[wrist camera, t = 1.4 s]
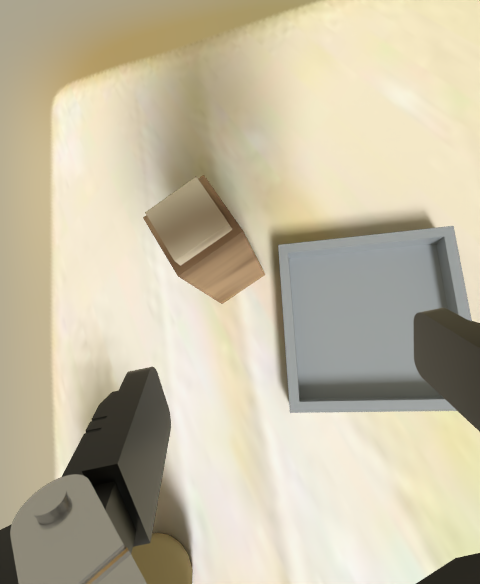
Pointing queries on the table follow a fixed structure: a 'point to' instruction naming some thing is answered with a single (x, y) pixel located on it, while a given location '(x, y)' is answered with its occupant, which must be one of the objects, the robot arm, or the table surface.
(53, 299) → the table surface
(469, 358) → the robot arm
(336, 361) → the tray
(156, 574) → the squeeze bottle
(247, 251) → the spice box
